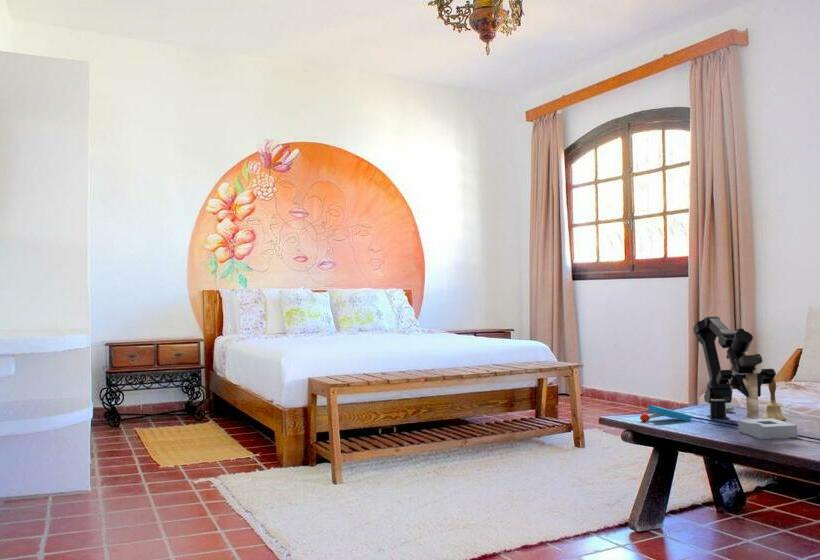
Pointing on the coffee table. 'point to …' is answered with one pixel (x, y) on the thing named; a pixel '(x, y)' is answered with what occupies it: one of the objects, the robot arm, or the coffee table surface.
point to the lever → (664, 414)
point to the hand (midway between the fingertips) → (753, 396)
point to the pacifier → (728, 408)
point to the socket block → (767, 428)
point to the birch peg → (752, 396)
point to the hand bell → (773, 405)
